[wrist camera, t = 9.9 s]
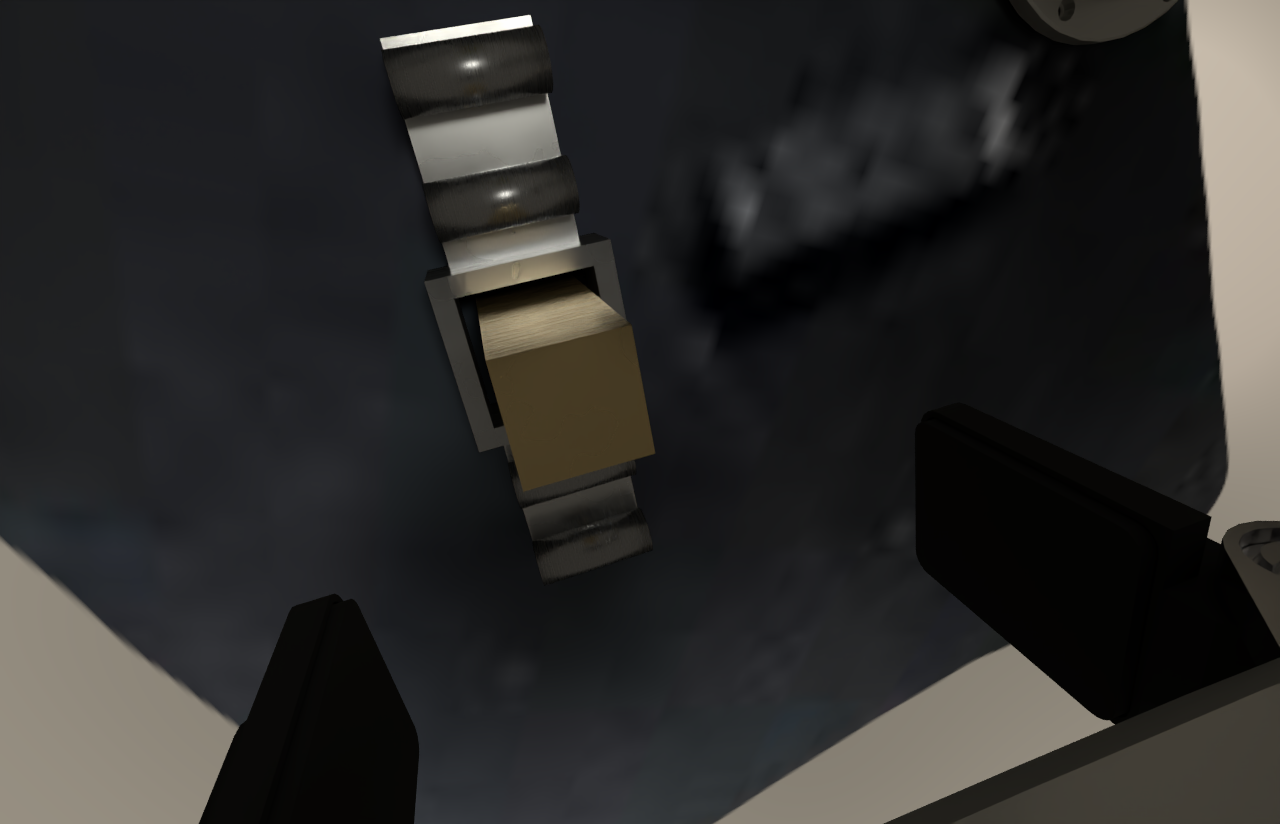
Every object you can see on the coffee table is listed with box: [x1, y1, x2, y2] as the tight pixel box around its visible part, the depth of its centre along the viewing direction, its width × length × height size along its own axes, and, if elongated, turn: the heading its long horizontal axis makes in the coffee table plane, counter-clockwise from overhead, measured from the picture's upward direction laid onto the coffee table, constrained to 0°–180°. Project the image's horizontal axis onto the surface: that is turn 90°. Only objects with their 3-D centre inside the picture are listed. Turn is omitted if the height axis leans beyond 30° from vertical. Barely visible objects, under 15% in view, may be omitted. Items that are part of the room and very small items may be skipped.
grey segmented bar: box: [380, 15, 653, 586], centre depth 25 cm, size 7×22×4 cm, turn 11°
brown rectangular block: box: [475, 274, 655, 492], centre depth 22 cm, size 4×4×10 cm
